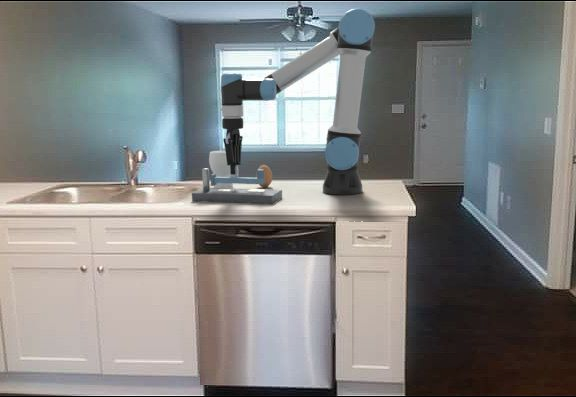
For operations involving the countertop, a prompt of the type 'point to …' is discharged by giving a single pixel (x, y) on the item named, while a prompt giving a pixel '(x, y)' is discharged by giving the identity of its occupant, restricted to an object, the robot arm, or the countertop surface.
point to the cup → (220, 167)
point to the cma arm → (239, 179)
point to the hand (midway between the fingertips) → (234, 182)
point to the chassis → (234, 194)
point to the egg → (266, 176)
